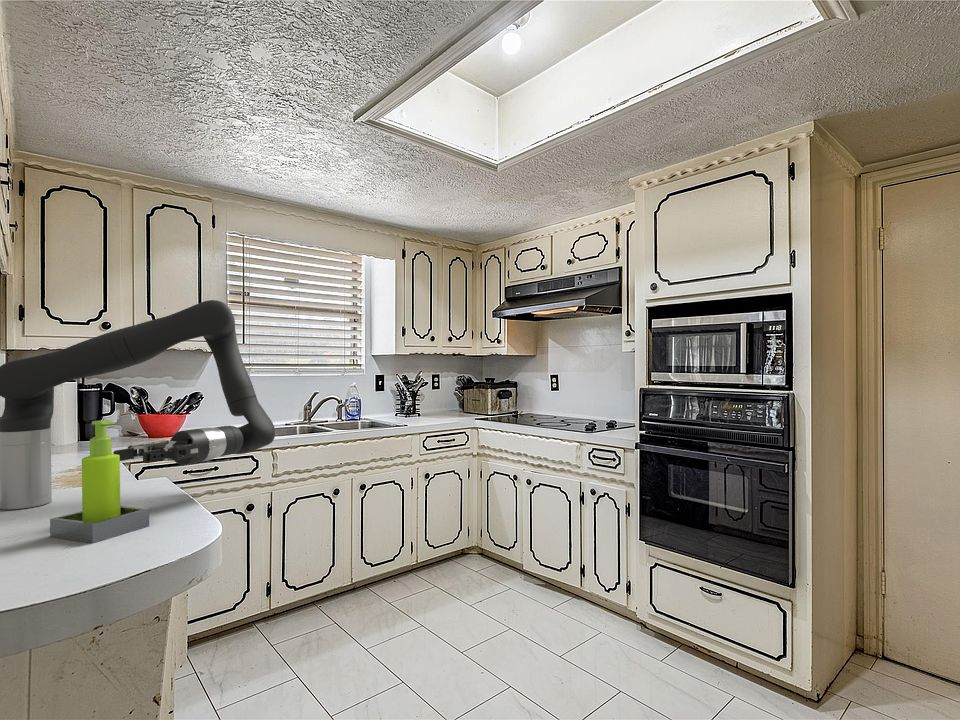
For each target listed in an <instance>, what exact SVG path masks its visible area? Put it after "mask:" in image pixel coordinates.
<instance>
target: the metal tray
mask: <svg viewBox="0 0 960 720" xmlns="http://www.w3.org/2000/svg"><path fill="white" fill-rule="evenodd" d="M120 512H121V516H117V517H113V518H109V519H106V520H102V521H98V522H94V523H93V522H85V521H83V517H82V510H81V511H78V512H77V511H76V512H73V513H68V514H66V515H60V516H57V517H52V518H50V519H49V538H54V539H60V540H69V541H76V542H83V543H89V544H95V543H98V542H101V541H104V540H108V539H111V538H114V537H119V536H120V535H124V534H128V533H130V532H134V531H138V530H141V529H144V528H148V527H150V509H149V508H146V507H145V508H144V507H135V506H134V507H133V506H123V505H120Z"/></svg>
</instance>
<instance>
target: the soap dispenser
mask: <svg viewBox="0 0 960 720" xmlns="http://www.w3.org/2000/svg"><path fill="white" fill-rule="evenodd" d="M91 425H92V426H94V435H95V436H93V437H92V438H89V456H88V455H87V456H85V457H83V458H81V493H82V494H81V499H82V502H81V503H82V504H81V507H82V508H81V511H82V517H83V521H85V522H93V523H94V522H98V521H102V520H106V519H109V518H113V517H117V516H121V512H120V506H121V465H120V464H121V461H120V455H116V454H113V453H112V452H113V450H112V449H113V448H112V446H113V445H112V443H113V442H112V437H111V436H109V435H107V427H108V426H109V427H110V426H114V425H115V423H114V422H113V421H112V420H109V419H103V420H92V421H91Z"/></svg>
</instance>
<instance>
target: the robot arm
mask: <svg viewBox="0 0 960 720" xmlns="http://www.w3.org/2000/svg"><path fill="white" fill-rule="evenodd" d="M235 325H236V321H235V316H234V315H233V312H232V310H231V308H230V306H228V304H226V303H225V302H223V301H220V300H217V299H216V300H215V299H212V300H211V299H210V300H205V301H202V302H198V303H196V304H194V305H192V306H191V305H190V306H189V307H186V308H184V309H181V310H180V311H177V312H175V313H172V314H169V315H166V316H163V317H159V318H155V319H151V320H148V321H143V322H139V323H138V324H135V325H134V324H133V325H130V326H126V327H122V328H119V329H116V330H112V331H110V332H109V331H108V332H106V333H103V334H100V335H98V336H94V337H92V338H89V339H86V340H83V341H81V342H78V343H76V344H72V345H71V346H68V347H65V348H63V349H60V350H56V351H53V352H48V353H45V354H44V353H43V354H39V355H35V356H30V357H25V358H21V359H20V358H19V359H14V360H10V361H7V362H5V363H3V364H1V365H0V397H1V398H3V399H4V409H3V412H2V415H1V416H0V510H8V511H9V510H19V509H21V510H22V509H27V508H28V509H29V508H35V507H38V506H44V505H47V504H49V503H51V502H52V501H53V495H52V494H53V493H52V491H53V490H52V441H51V439H52V437H51V433H52V432H51V430H52V429H51V428H52V426H51V425H52V424H51V422H52V418H53V414H54V410H55V409H54V405H55V403H54V402H55V401H54V399H55V387H57V386H59V385H62V384H65V383H67V382H71V381H75V380H78V379H84V378H87V377H88V378H89V377H93V376H98V375H99V376H100V375H105V374H109V373H113V372H116V371H120V370H124V369H127V368H129V367H130V368H131V367H134V366H137V365H139V364H142V363H144V362H147V361H149V360H152V359H153V358H155V357H157V356H159V355H160V354H162V353H164V352H165V351H166V350H168V349H170V348H172V347H174V346H175V345H178V344H179V343H183V342H185V341H189V340H194V339H197V338H201V337H203V338H204V340H205V342H206V344H207V346H208V348H209V350H210V351H211V353H212V355H213V359H214V361H215V364H216V367H217V368H216V369H217V371H218V376H219V377H218V378H219V381H220V385H221V388H222V392H223V396H224V398H225V401H226V404H227V407H228V410H229V412H230V414H231V415H232V416H233V417H244V418H245V420H246V421H247V423H246V424H243V425H241V426H238V427H237V426H234V425H224V426H222V425H221V426H216V427H215V426H214V427H212V426H211V427H208V426H207V427H199V428H192V429H184V430H179V431H177V432H175V433H174V434H173V435H172V437H171V438H170V440H169V439H168V440H160V441H159V442H156V441H153V442H145V443H143V444H142V443H141V444H136V445H135V444H133V445H128V446H127V448H124V449H117V450H113V451H112V452H113V453H112V454H116V455H120V462H122V461H128V460H136V459H138V460H139V459H142V462H143V464H151V463H155V462H160V461H164V462H172V461H174V462H175V464H177V465H180V466H187V465H191V464H197V463H201V462H207V461H211V460H213V459H214V460H215V459H216V458H219V457H220V458H221V457H225V456H230V455H243V454H248V453H252V452H254V451H257V450H260V449H262V448H264V447H266V446H268V445H270V444H272V443H273V441H274V440H275V437H276V428H275V424H274V423H273V421H272V419H271V418H270V417H269V415H268V414H267V413H266V411H265V409H264V408H263V406H262V405H261V403H260V402H259V400H258V398H257V394H256V391H255V388H254V385H253V382H252V381H251V378H250V375H249V373H248V370H247V368H246V366H245V364H244V361H243V358H242V355H241V353H240V348H239V345H238V339H237V332H236V326H235Z"/></svg>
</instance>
